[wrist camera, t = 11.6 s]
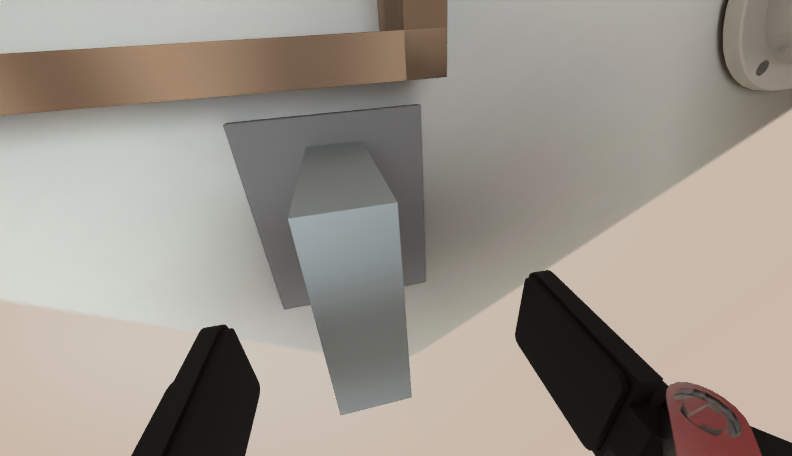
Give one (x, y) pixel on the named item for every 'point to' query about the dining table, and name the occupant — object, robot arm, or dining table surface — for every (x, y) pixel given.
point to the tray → (230, 64)
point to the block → (353, 273)
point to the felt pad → (280, 165)
